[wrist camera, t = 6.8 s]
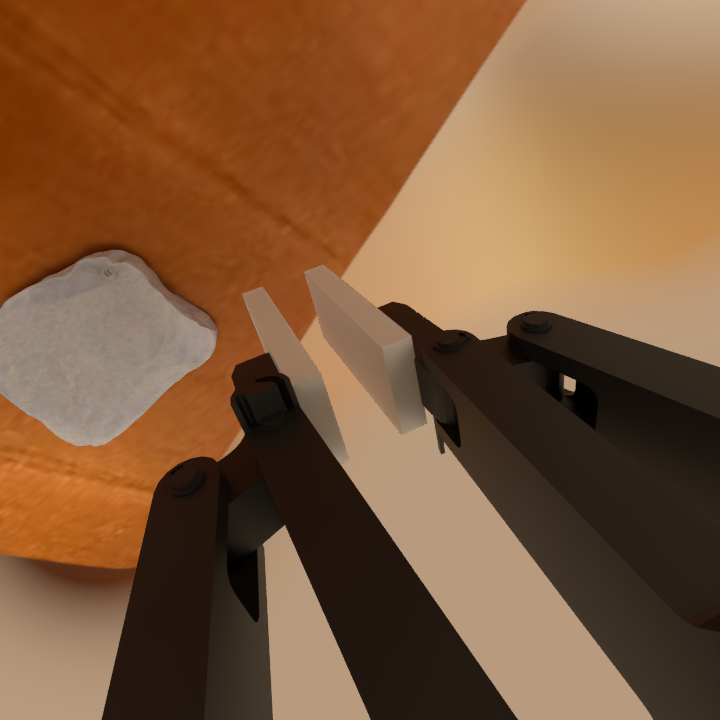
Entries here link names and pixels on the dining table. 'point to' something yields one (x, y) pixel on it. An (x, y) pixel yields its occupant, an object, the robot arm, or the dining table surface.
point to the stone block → (98, 346)
